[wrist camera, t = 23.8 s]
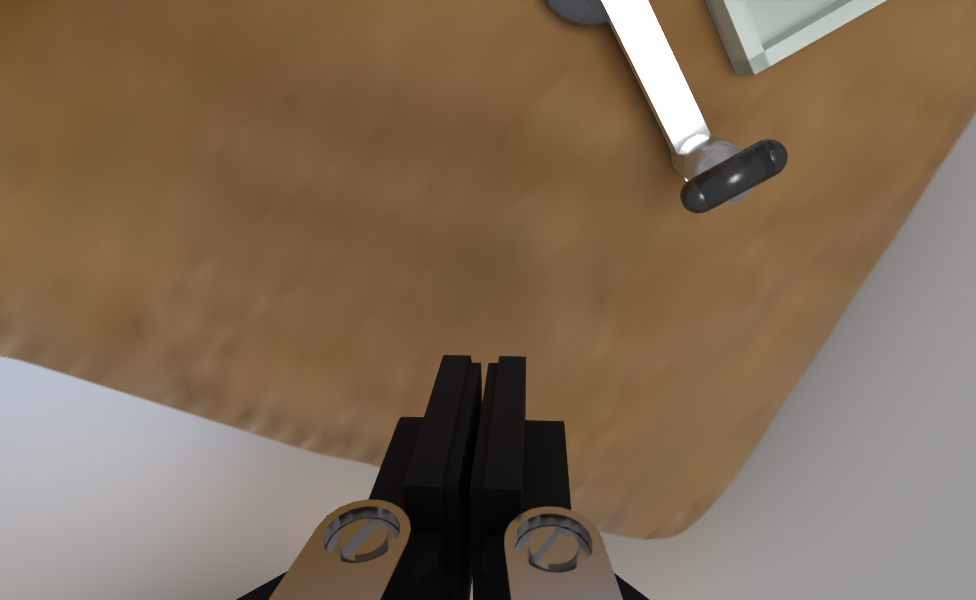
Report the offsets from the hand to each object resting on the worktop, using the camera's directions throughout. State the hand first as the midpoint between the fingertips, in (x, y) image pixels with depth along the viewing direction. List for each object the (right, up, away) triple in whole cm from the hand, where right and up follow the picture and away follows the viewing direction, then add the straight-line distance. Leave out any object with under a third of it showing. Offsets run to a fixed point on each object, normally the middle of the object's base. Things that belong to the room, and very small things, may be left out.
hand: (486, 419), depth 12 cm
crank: (+8, +15, +18) cm, 25 cm away
